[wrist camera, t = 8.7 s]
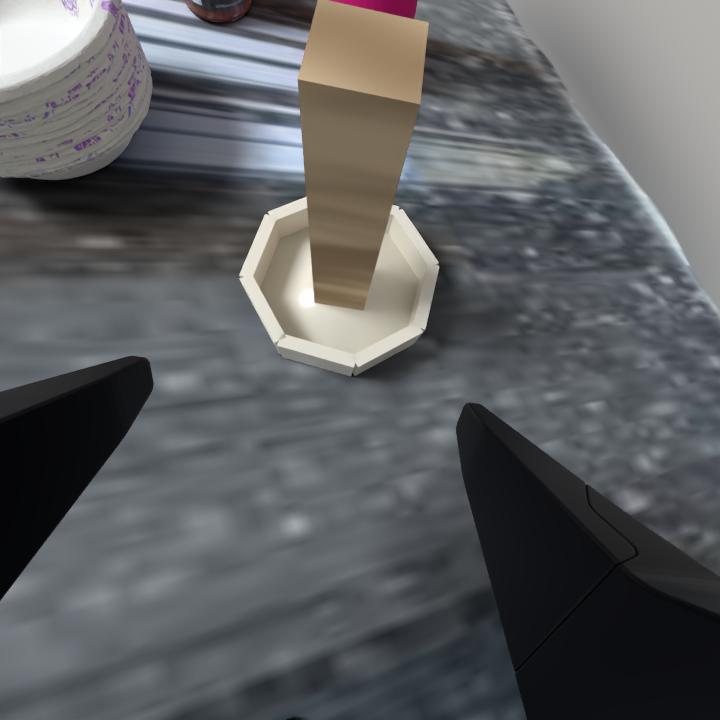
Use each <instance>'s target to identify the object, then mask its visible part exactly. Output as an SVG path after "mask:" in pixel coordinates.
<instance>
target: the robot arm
mask: <svg viewBox="0 0 720 720" xmlns="http://www.w3.org/2000/svg"><path fill="white" fill-rule="evenodd" d="M152 389H153V378H152V372H151V366H150V362H149V360H148V359H147V358H144V357H137V356H128V357H124V358H121V359H117V360H114V361H110V362H106V363H103V364H99V365H96V366H92V367H88V368H85V369H81V370H77V371H74V372H70V373H67V374H63V375H59V376H56V377H52V378H49V379H45V380H41V381H38V382H34V383H31V384H27V385H23V386H20V387H16V388H13V389H9V390H5V391H2V392H0V601H1V599H2V598H3V597H4V595H5V594H6V593H7V591H8V590H9V589H10V587H11V586H12V585H13V583H14V582H15V581H16V579H17V578H18V577H19V575H20V574H21V573H22V572H23V570H24V569H25V568H26V566H27V565H28V564H29V562H30V561H31V560H32V558H33V557H34V556H35V554H36V553H37V552H38V550H39V549H40V548H41V546H42V545H43V544H44V543H45V541H46V540H47V539H48V537H49V536H50V535H51V533H52V532H53V531H54V529H55V528H56V527H57V525H58V524H59V523H60V521H61V520H62V519H63V517H64V516H65V515H66V513H67V512H68V511H69V510H70V508H71V507H72V506H73V504H74V503H75V502H76V500H77V499H78V498H79V496H80V495H81V494H82V492H83V491H84V490H85V488H86V487H87V486H88V484H89V483H90V482H91V481H92V479H93V478H94V477H95V475H96V474H97V473H98V471H99V470H100V469H101V467H102V466H103V465H104V463H105V462H106V461H107V459H108V458H109V457H110V455H111V454H112V453H113V452H114V450H115V449H116V448H117V446H118V445H119V444H120V442H121V441H122V439H123V438H124V437H125V435H126V434H127V432H128V430H129V429H130V427H131V426H132V424H133V422H134V421H135V419H136V417H137V415H138V414H139V412H140V410H141V409H142V407H143V405H144V404H145V402H146V400H147V399H148V397H149V395H150V394H151V392H152ZM456 434H457V441H458V448H459V455H460V462H461V469H462V475H463V480H464V484H465V488H466V492H467V495H468V499H469V503H470V507H471V510H472V514H473V518H474V521H475V525H476V529H477V533H478V536H479V540H480V544H481V548H482V551H483V555H484V559H485V563H486V566H487V570H488V574H489V578H490V581H491V585H492V589H493V592H494V596H495V600H496V604H497V607H498V611H499V615H500V619H501V622H502V626H503V630H504V634H505V637H506V641H507V645H508V649H509V652H510V656H511V660H512V664H513V667H514V670H515V671H516V673H515V676H516V679H517V683H518V687H519V691H520V694H521V698H522V702H523V706H524V709H525V713H526V717H527V720H720V576H719V575H717V574H716V573H714V572H713V571H711V570H710V569H708V568H707V567H705V566H704V565H702V564H701V563H699V562H698V561H696V560H695V559H693V558H692V557H691V556H689V555H688V554H686V553H685V552H683V551H682V550H680V549H679V548H677V547H676V546H674V545H673V544H671V543H670V542H668V541H667V540H665V539H664V538H662V537H661V536H659V535H658V534H656V533H655V532H654V531H652V530H651V529H649V528H648V527H646V526H645V525H643V524H642V523H640V522H639V521H638V520H636V519H635V518H633V517H632V516H630V515H629V514H627V513H626V512H625V511H623V510H622V509H620V508H619V507H618V506H616V505H615V504H614V503H612V502H611V501H609V500H608V499H607V498H605V497H604V496H603V495H601V494H600V493H598V492H597V491H596V490H595V489H593V488H592V487H591V486H589V485H586V484H585V482H584V481H582V480H581V479H580V478H578V477H577V476H576V475H574V474H573V473H572V472H570V471H569V470H568V469H566V468H565V467H564V466H562V465H561V464H560V463H558V462H557V461H556V460H554V459H553V458H552V457H550V456H549V455H548V454H546V453H545V452H544V451H542V450H541V449H540V448H538V447H537V446H536V445H534V444H533V443H532V442H530V441H529V440H528V439H526V438H525V437H524V436H522V435H521V434H520V433H518V432H517V431H516V430H514V429H513V428H512V427H510V426H509V425H508V424H506V423H505V422H504V421H502V420H501V419H500V418H498V417H497V416H496V415H494V414H493V413H492V412H490V411H489V410H488V409H486V408H485V407H483V406H482V405H480V404H475V403H466V404H465V405H464V407H463V410H462V412H461V415H460V417H459V420H458V423H457V426H456ZM287 720H295V719H287Z"/></svg>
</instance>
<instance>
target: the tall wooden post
mask: <svg viewBox="0 0 720 720" xmlns="http://www.w3.org/2000/svg"><path fill="white" fill-rule="evenodd" d="M427 33H428V22H424V21H419V20H415V19H410V18H406V17H401V16H397V15H392V14H388V13H383V12H379V11H374V10H370V9H365V8H361V7H356V6H352V5H347V4H343V3H338V2H334V1H329V0H318V1H317V5H316V9H315V13H314V17H313V21H312V25H311V29H310V33H309V37H308V41H307V45H306V49H305V53H304V57H303V61H302V64H301V68H300V72H299V76H298V88H299V102H300V115H301V129H302V142H303V156H304V169H305V183H306V196H307V210H308V223H309V237H310V250H311V264H312V277H313V291H314V303H319V304H325V305H331V306H338V307H344V308H350V309H356V310H362V311H364V307H365V303H366V300H367V296H368V292H369V289H370V285H371V281H372V278H373V274H374V271H375V267H376V263H377V260H378V256H379V252H380V249H381V245H382V241H383V238H384V234H385V230H386V227H387V223H388V220H389V216H390V212H391V209H392V205H393V201H394V198H395V194H396V190H397V187H398V183H399V180H400V176H401V172H402V169H403V165H404V161H405V158H406V154H407V150H408V147H409V143H410V139H411V136H412V132H413V129H414V125H415V121H416V118H417V114H418V110H419V107H420V101H421V91H422V82H423V72H424V62H425V52H426V43H427Z"/></svg>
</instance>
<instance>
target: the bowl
mask: <svg viewBox="0 0 720 720" xmlns="http://www.w3.org/2000/svg"><path fill="white" fill-rule="evenodd" d="M398 210H399V207H398V206H395V205H392V209H391V212H390V216H389V220H388V223H387V227H386V230H385V234H384V238H383V241H382V245H381V249H380V252H379V256H378V260H377V263H376V267H375V271H374V274H373V278H372V281H371V285H370V289H369V292H368V296H367V300H366V303H365V307H364V311H362V310H356V309H350V308H344V307H338V306H331V305H325V304H319V303H314V291H313V277H312V264H311V250H310V237H309V223H308V210H307V197H305V198H302V199H300V200H297V201H294V202H292V203H289V204H287V205H284V206H282V207H279V208H276V209H274V210H271V211H269V212H268V215H266V214H265V216H264V218H263V221H262V223H261V225H260V228H259V230H258V232H257V235H256V237H255V239H254V242H253V244H252V246H251V249H250V251H249V253H248V256H247V258H246V260H245V263H244V265H243V268H242V270H241V272H240V275H239V276H240V281H241V283H242V285H243V287H244V289H245V291H246V293H247V295H248V297H249V299H250V301H251V303H252V304H253V306H254V308H255V310H256V312H257V314H258V316H259V317H260V319H261V321H262V323H263V325H264V327H265V329H266V331H267V332H268V334H269V336H270V338H271V340H272V342H273V344H274V346H275V347H276V349H277V351H278V353H279V355H280V354H281V355H282V357H283V358H287V359H290V360H294V361H297V362H301V363H304V364H308V365H311V366H315V367H318V368H322V369H325V370H329V371H332V372H336V373H339V374H343V375H346V376H350V377H351V375H352V373H353V375H354V376H356V375H358V374H360V373H362V372H363V371H365V370H367V369H369V368H371V367H373V366H375V365H376V364H378V363H380V362H382V361H384V360H386V359H387V358H389V357H391V356H393V355H395V354H397V353H399V352H400V351H402V350H404V349H406V348H408V347H410V346H411V345H413V344H414V343H415V342H416V340H417V339H418V338H419V337H420V336H421V334H422V333H423V332H424V331H425V329H426V325H427V320H428V316H429V311H430V307H431V302H432V298H433V293H434V289H435V285H436V280H437V276H438V271H439V267H440V266H438V263H439V262H438V261H437V259H436V258H435V256H434V255H433V253H432V252H431V250H430V249H429V247H428V246H427V245H426V243H425V242H424V240H423V239H422V237H421V236H420V234H419V233H418V231H417V230H416V228H415V227H414V225H413V224H412V223H411V221H410V220H409V218H408V217H407V215H406V214H405V212H404V211H403V209H401V210H399V211H398Z"/></svg>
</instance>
